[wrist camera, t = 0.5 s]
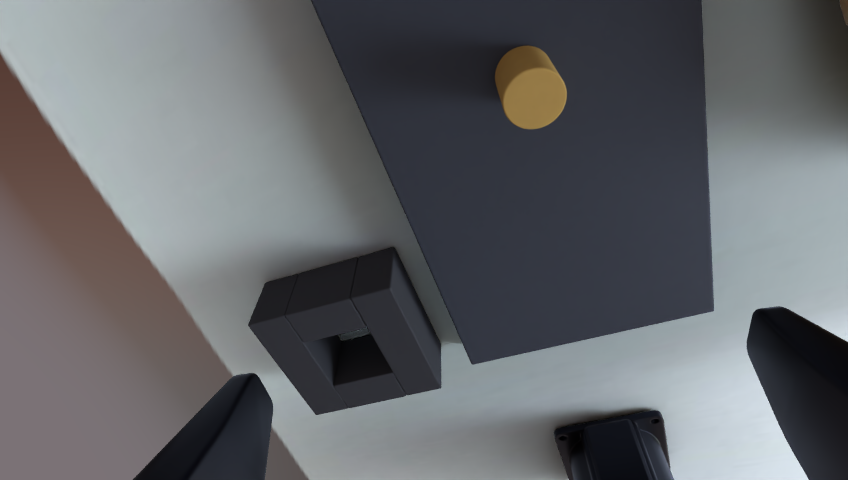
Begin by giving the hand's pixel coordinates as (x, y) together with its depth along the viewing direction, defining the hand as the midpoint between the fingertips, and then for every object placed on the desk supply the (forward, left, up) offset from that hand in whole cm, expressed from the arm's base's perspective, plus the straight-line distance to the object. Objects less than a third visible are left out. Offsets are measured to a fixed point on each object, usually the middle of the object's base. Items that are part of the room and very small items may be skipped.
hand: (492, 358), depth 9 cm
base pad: (-3, -2, -13) cm, 14 cm away
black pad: (-9, +9, -13) cm, 18 cm away
